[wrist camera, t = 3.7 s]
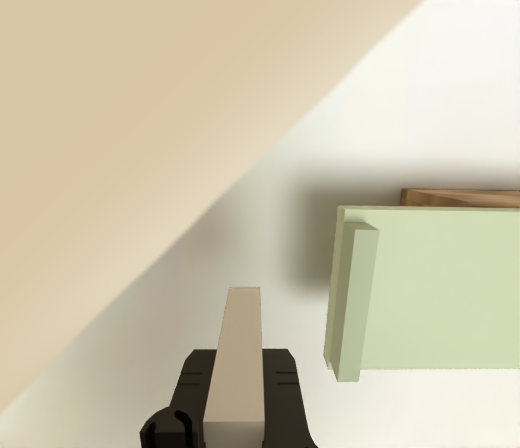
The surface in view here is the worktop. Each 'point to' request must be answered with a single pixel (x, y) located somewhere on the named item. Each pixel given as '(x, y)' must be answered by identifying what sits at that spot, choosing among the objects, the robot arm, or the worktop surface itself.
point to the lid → (424, 289)
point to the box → (460, 198)
